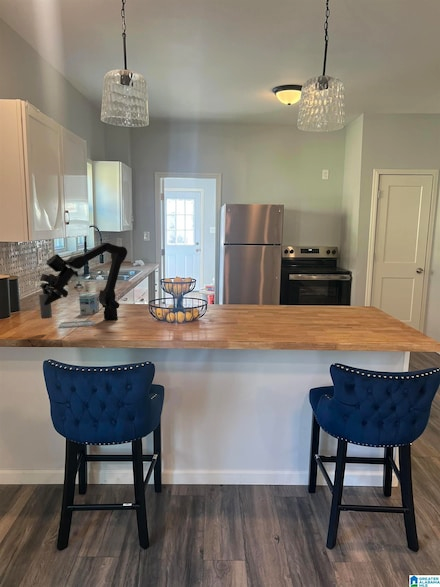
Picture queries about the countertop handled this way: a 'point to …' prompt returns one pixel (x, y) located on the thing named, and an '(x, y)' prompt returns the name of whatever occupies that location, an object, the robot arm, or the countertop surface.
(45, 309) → the post
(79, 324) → the label plate
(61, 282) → the robot arm
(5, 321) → the countertop surface
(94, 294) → the light bulb box
